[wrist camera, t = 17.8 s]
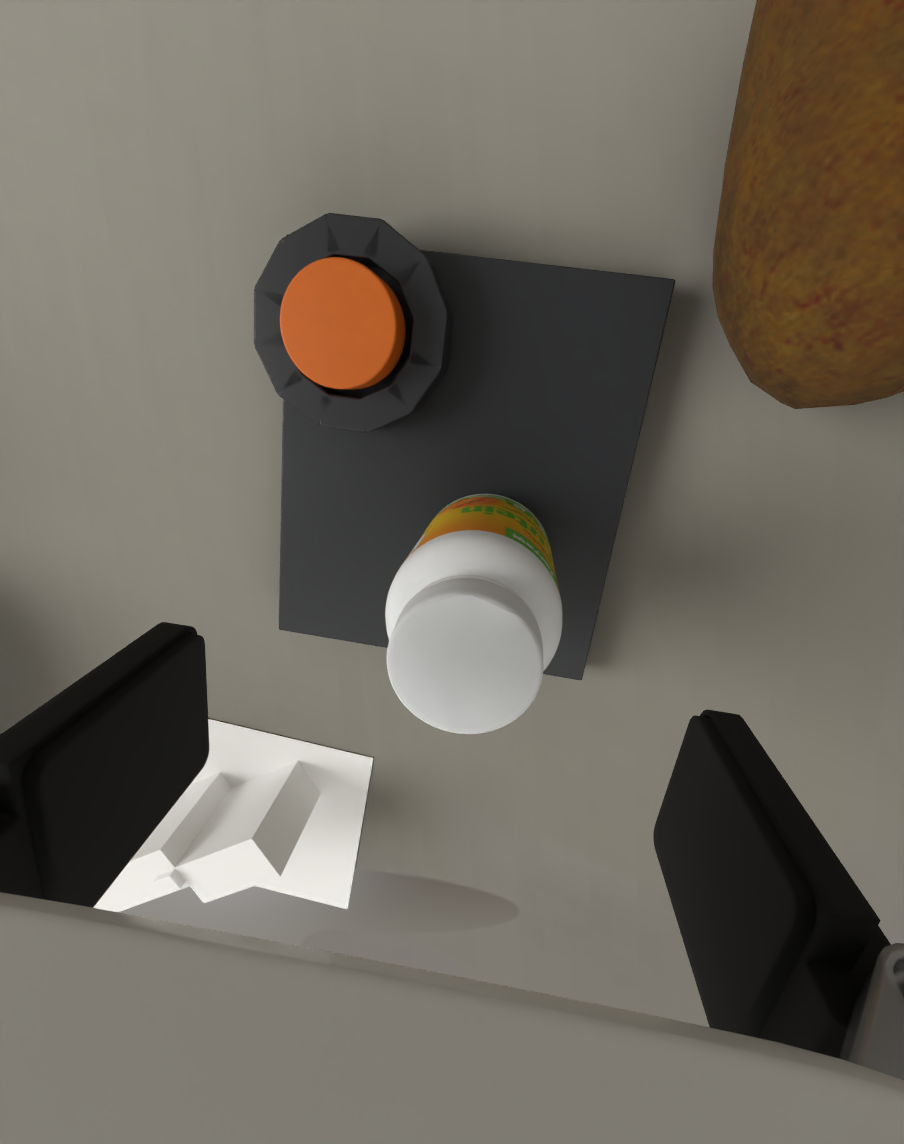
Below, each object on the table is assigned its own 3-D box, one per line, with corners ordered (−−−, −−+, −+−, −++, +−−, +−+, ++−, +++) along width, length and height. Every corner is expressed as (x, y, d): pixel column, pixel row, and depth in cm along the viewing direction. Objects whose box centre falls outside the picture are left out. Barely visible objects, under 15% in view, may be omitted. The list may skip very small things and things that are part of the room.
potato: (1006, -3, 16) (1496, -398, 8) (903, 405, 20) (1167, 416, 12) (717, 19, 17) (895, -315, 9) (670, 405, 21) (766, 415, 13)
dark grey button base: (289, 229, 21) (253, 204, 18) (668, 272, 20) (694, 253, 17) (281, 616, 26) (252, 643, 23) (578, 665, 25) (586, 700, 22)
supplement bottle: (572, 522, 22) (613, 617, 13) (518, 633, 23) (519, 787, 14) (449, 470, 22) (399, 529, 12) (404, 586, 23) (332, 711, 14)
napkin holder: (111, 852, 33) (32, 943, 27) (103, 693, 29) (9, 763, 24) (350, 909, 32) (316, 1015, 27) (373, 754, 28) (339, 840, 23)
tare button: (298, 260, 19) (279, 249, 17) (411, 273, 18) (402, 263, 17) (295, 381, 20) (277, 381, 19) (400, 396, 20) (391, 396, 18)
